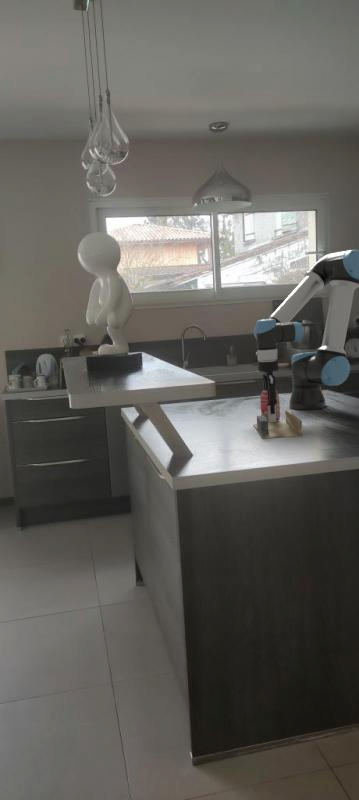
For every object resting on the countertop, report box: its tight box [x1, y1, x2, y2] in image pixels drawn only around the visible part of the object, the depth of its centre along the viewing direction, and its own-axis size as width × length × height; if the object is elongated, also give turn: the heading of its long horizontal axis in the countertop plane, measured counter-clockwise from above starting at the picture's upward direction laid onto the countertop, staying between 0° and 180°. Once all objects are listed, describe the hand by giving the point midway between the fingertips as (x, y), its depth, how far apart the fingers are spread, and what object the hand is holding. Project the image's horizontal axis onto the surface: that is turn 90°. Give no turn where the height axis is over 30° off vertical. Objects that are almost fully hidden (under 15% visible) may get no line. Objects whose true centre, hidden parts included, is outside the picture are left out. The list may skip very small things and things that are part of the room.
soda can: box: [260, 389, 281, 423], centre depth 221 cm, size 7×7×12 cm
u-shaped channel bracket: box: [253, 409, 303, 440], centre depth 206 cm, size 13×22×6 cm, turn 1°
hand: (270, 420), depth 222 cm, fingers closed on soda can, 7 cm apart
